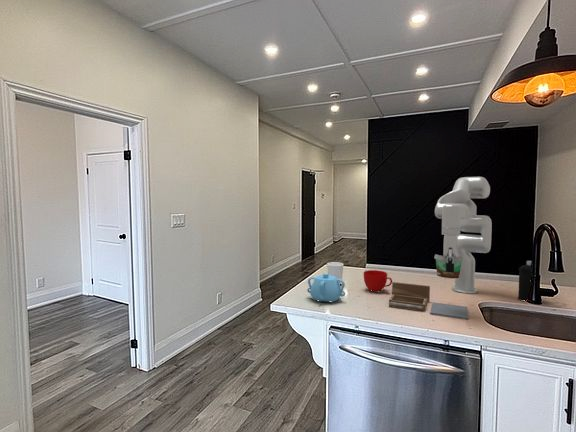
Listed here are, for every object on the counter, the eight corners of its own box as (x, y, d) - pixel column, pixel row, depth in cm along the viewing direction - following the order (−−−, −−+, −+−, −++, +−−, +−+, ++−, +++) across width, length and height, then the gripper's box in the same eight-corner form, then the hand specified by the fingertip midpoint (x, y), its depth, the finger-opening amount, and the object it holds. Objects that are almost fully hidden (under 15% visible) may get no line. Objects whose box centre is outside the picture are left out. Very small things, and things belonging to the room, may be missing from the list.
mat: (432, 303, 159) (432, 302, 159) (467, 308, 152) (467, 306, 152) (430, 314, 145) (430, 312, 145) (468, 319, 138) (468, 318, 138)
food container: (436, 278, 146) (437, 256, 146) (433, 275, 152) (434, 254, 152) (466, 279, 143) (467, 257, 143) (462, 276, 149) (463, 255, 149)
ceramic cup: (385, 296, 171) (385, 278, 170) (358, 290, 183) (358, 272, 183) (398, 291, 179) (398, 274, 179) (372, 285, 192) (372, 269, 191)
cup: (331, 281, 202) (331, 261, 201) (346, 284, 196) (346, 263, 196) (324, 285, 194) (324, 264, 193) (338, 287, 188) (338, 266, 188)
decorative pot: (317, 306, 157) (317, 278, 156) (305, 296, 172) (305, 271, 171) (347, 302, 162) (347, 276, 161) (333, 293, 177) (333, 269, 176)
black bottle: (516, 300, 163) (517, 261, 162) (519, 296, 169) (520, 258, 168) (536, 303, 158) (538, 263, 157) (538, 299, 164) (540, 260, 163)
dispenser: (392, 296, 171) (392, 281, 170) (429, 301, 162) (429, 286, 162) (386, 306, 156) (386, 290, 155) (426, 312, 147) (427, 295, 147)
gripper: (442, 229, 156) (441, 265, 157) (440, 233, 141) (440, 273, 142) (460, 230, 153) (459, 267, 154) (460, 234, 137) (459, 275, 138)
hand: (450, 270), depth 148 cm, fingers closed on food container, 6 cm apart
